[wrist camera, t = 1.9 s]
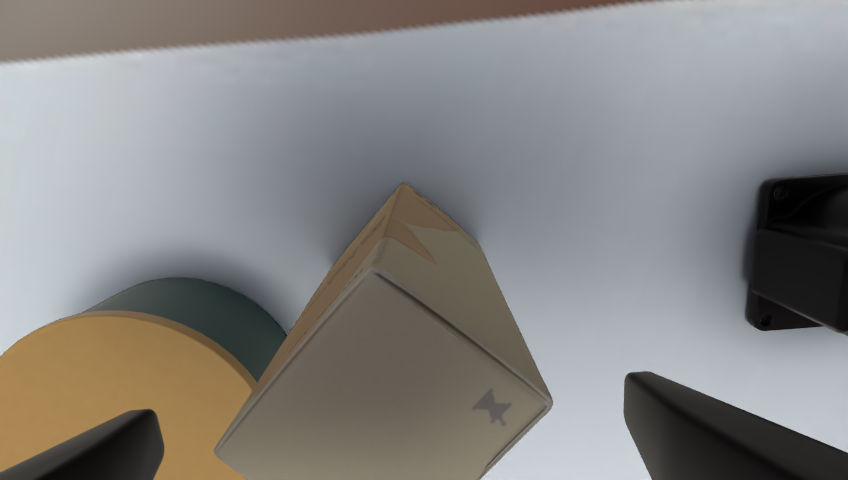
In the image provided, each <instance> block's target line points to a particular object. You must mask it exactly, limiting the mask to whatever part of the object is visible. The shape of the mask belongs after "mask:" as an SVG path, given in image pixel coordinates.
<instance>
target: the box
mask: <svg viewBox="0 0 848 480" xmlns="http://www.w3.org/2000/svg"><path fill="white" fill-rule="evenodd" d="M552 405H553V400H552V397H551V395H550V393H549V391H548V388H547V386H546V384H545V382H544V381H543V379H542V377H541V375H540V372H539V370H538V368H537V366H536V364H535V362H534V360H533V358H532V356H531V353H530V351H529V349H528V347H527V345H526V343H525V341H524V339H523V336H522V334H521V332H520V330H519V328H518V326H517V324H516V322H515V320H514V317H513V315H512V313H511V311H510V309H509V307H508V305H507V303H506V301H505V298H504V296H503V294H502V292H501V290H500V287H499V285H498V283H497V281H496V279H495V277H494V275H493V273H492V271H491V268H490V266H489V264H488V262H487V259H486V257H485V255H484V253H483V251H482V249H481V247H480V245H479V244H478V242H477V241H475V240H474V239H473V238H472V237H471V236H470V235H469V234H468V233H467V232H465V231H464V230H463V229H462V228H461V227H460V226H459V225H458V224H456V223H455V222H454V221H453V220H452V219H451V218H449V217H448V216H447V215H446V214H445V213H443V212H442V211H441V210H440V209H439V208H438V207H436V206H435V205H434V204H432V203H431V202H430V201H429V200H427V199H426V198H425V197H424V196H423V195H421V194H420V193H419V192H417V191H416V190H415V189H413V188H412V187H411V186H409V185H408V184H406V183H402V184H401V185H400V186H399V187H398V188H397V189H396V190H395V192H394V193H393V194H392V195H391V196H390V197H389V198H388V200H387V201H386V202H385V203H384V204H383V206H382V207H381V208H380V209H379V210H378V211H377V213H376V214H375V215H374V216H373V217H372V219H371V220H370V221H369V222H368V223H367V225H366V226H365V227H364V228H363V229H362V231H361V232H360V233H359V234H358V235H357V237H356V238H355V239H354V240H353V242H352V243H351V244H350V245H349V246H348V248H347V249H346V250H345V251H344V253H343V254H342V255H341V256H340V257H339V259H338V260H337V261H336V262H335V264H334V265H333V266H332V267H331V269H330V270H329V272H328V274H327V275H326V277H325V278H324V280H323V281H322V283H321V284H320V286H319V288H318V289H317V291H316V292H315V294H314V295H313V297H312V298H311V300H310V301H309V303H308V304H307V306H306V307H305V309H304V311H303V312H302V314H301V315H300V317H299V319H298V320H297V322H296V324H295V325H294V327H293V328H292V330H291V331H290V333H289V334H288V336H287V337H286V339H285V340H284V342H283V344H282V345H281V347H280V348H279V350H278V351H277V353H276V354H275V356H274V357H273V359H272V361H271V362H270V364H269V365H268V367H267V368H266V370H265V372H264V373H263V375H262V376H261V378H260V379H259V381H258V383H257V384H256V386H255V387H254V389H253V390H252V392H251V393H250V395H249V397H248V398H247V400H246V401H245V403H244V404H243V406H242V407H241V409H240V410H239V412H238V413H237V415H236V417H235V418H234V420H233V421H232V423H231V424H230V426H229V427H228V429H227V430H226V432H225V433H224V435H223V436H222V438H221V439H220V441H219V442H218V444H217V445H216V447H215V449H214V451H213V452H214V454H215V455H216V457H218V458H219V459H220V460H221V461H223V462H224V463H225V464H227V465H228V466H230V467H231V468H232V469H233V470H235V471H236V472H238V473H239V474H241V475H242V476H244V477H245V478H247V479H249V480H480V479H481V478H482V477H483V476H484V475H485V474H486V473H487V472H488V471H489V470H490V469H491V468H492V467H493V466H494V465H495V464H496V463H497V462H498V461H499V460H500V459H501V458H502V457H503V456H504V455H505V454H506V453H507V452H508V451H509V450H510V449H511V448H512V447H513V446H514V445H515V444H516V443H517V442H518V441H519V440H520V439H521V438H522V437H523V436H524V435H525V434H526V433H527V432H528V431H529V430H530V429H531V428H532V427H533V426H534V425H535V424H536V423H537V422H538V421H539V420H540V419H541V418H542V417H543V416H545V415H546V414H547V413H548V412H549V410H550V409H551V407H552Z"/></svg>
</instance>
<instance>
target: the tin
mask: <svg viewBox="0 0 848 480" xmlns="http://www.w3.org/2000/svg"><path fill="white" fill-rule="evenodd" d="M286 337H287V336H286V335H285V333H284V332H283V331H282V329H281V328H280V326H279V325H278V324H277V323H276V322H275V321H274V320H273V319H272V318H271V317H270V315H269V314H267V313H266V312H265V311H264V310H263V309H262V308H260V307H259V306H258V305H257V304H255V303H254V302H252V301H251V300H249V299H248V298H246V297H245V296H243V295H241V294H239V293H237V292H235V291H233V290H231V289H229V288H226V287H223V286H220V285H217V284H215V283H210V282H206V281H202V280H196V279H187V278H166V279H158V280H152V281H148V282H144V283H141V284H137V285H135V286H133V287H130V288H128V289H126V290H124V291H122V292H120V293H118V294H116V295H114V296H112V297H110V298H108V299H107V300H105V301H103V302H101V303H99V304H97V305H95V306H93V307H92V308H90V309H88V310H86V311H84V312H82V313H79V314H76V315H72V316H68V317H65V318H61V319H59V320H56V321H54V322H52V323H49V324H47V325H45V326H43V327H41V328H39V329H37V330H35V331H33V332H31V333H30V334H28V335H26V336H25V337H23V338H22V339H20V340H18V341H17V342H16V343H15V344H14V345H12V346H11V347H10V348H9V349H8V350H7V351H5V352H4V353H3V354H2V356H1V357H0V472H2V471H4V470H6V469H8V468H10V467H12V466H14V465H17V464H19V463H21V462H23V461H25V460H27V459H29V458H31V457H33V456H35V455H37V454H39V453H42V452H44V451H46V450H48V449H50V448H52V447H54V446H56V445H58V444H60V443H62V442H65V441H67V440H69V439H71V438H73V437H75V436H77V435H79V434H81V433H83V432H85V431H87V430H90V429H92V428H94V427H96V426H98V425H100V424H102V423H104V422H106V421H108V420H110V419H113V418H115V417H117V416H119V415H121V414H123V413H125V412H127V411H130V410H140V409H151V410H153V411H155V413H156V414H157V417H158V421H159V425H160V429H161V433H162V437H163V441H164V447H165V451H164V456H163V460H162V462H161V464H160V466H159V468H158V471H157V473H156V475H155V477H154V479H153V480H249V479H247V478H245V477H244V476H242V475H241V474H239V473H238V472H236V471H235V470H233V469H232V468H231V467H230V466H228V465H227V464H225V463H224V462H223V461H221V460H220V459H219V458H218V457H216V455H215V454H214V452H213V451H214V449H215V447H216V445H217V444H218V442H219V441H220V439H221V438H222V436H223V435H224V433H225V432H226V430H227V429H228V427H229V426H230V424H231V423H232V421H233V420H234V418H235V417H236V415H237V413H238V412H239V410H240V409H241V407H242V406H243V404H244V403H245V401H246V400H247V398H248V397H249V395H250V393H251V392H252V390H253V389H254V387H255V386H256V384H257V383H258V381H259V379H260V378H261V376H262V375H263V373H264V372H265V370H266V368H267V367H268V365H269V364H270V362H271V361H272V359H273V357H274V356H275V354H276V353H277V351H278V350H279V348H280V347H281V345H282V344H283V342H284V340H285V339H286Z"/></svg>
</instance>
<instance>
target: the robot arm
mask: <svg viewBox="0 0 848 480" xmlns="http://www.w3.org/2000/svg"><path fill="white" fill-rule="evenodd" d="M777 187H779V192H778V194H777V195H776V196H775V195H774V192H775V189H776V188H777ZM764 315H765V317H764V319H763V320H762V321H760V319H761V317H762V316H764ZM748 322H749V323H750V325H752V326H754V327H755V328H757V329H759V330H762V331H769V330H783V329H796V328H809V327H822V326H825V327H827V328H829V329H832V330H834V331H836V332H838V333H843V334H845V335H847V336H848V173H841V174H828V175H815V176H802V177H789V178H776V179H771V180H769V181H767V182H766V183H765V184H764V185H763V186H762V189H761V192H760V202H759V212H758V221H757V231H756V240H755V249H754V259H753V269H752V278H751V289H750V299H749V309H748ZM624 418H625V422H626V425H627V427H628V429H629V431H630V434H631V436H632V438H633V440H634V442H635V444H636V446H637V448H638V451H639V453H640V455H641V457H642V459H643V461H644V463H645V466H646V468H647V470H648V472H649V474H650V476H651V478H652V480H848V453H847V452H844V451H842V450H839V449H837V448H835V447H832V446H830V445H827V444H825V443H822V442H820V441H817V440H815V439H813V438H810V437H808V436H805V435H803V434H800V433H798V432H796V431H793V430H791V429H788V428H786V427H783V426H781V425H779V424H776V423H774V422H771V421H769V420H766V419H764V418H761V417H759V416H757V415H754V414H752V413H749V412H747V411H744V410H742V409H740V408H737V407H735V406H732V405H730V404H727V403H725V402H722V401H720V400H718V399H715V398H713V397H710V396H708V395H705V394H703V393H701V392H698V391H696V390H693V389H691V388H688V387H686V386H684V385H681V384H679V383H676V382H674V381H671V380H669V379H666V378H664V377H662V376H659V375H657V374H654V373H652V372H647V371H645V372H632V373H628V374H627V375H626V377H625V383H624ZM164 451H165V447H164V441H163V437H162V433H161V429H160V425H159V421H158V417H157V414H156V413H155V411H153V410H151V409H140V410H130V411H127V412H125V413H123V414H121V415H119V416H117V417H115V418H113V419H110V420H108V421H106V422H104V423H102V424H100V425H98V426H96V427H94V428H92V429H90V430H87V431H85V432H83V433H81V434H79V435H77V436H75V437H73V438H71V439H69V440H67V441H65V442H62V443H60V444H58V445H56V446H54V447H52V448H50V449H48V450H46V451H44V452H42V453H39V454H37V455H35V456H33V457H31V458H29V459H27V460H25V461H23V462H21V463H19V464H17V465H14V466H12V467H10V468H8V469H6V470H4V471H2V472H0V480H153V479H154V477H155V475H156V473H157V471H158V468H159V466H160V464H161V462H162V460H163V456H164Z"/></svg>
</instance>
